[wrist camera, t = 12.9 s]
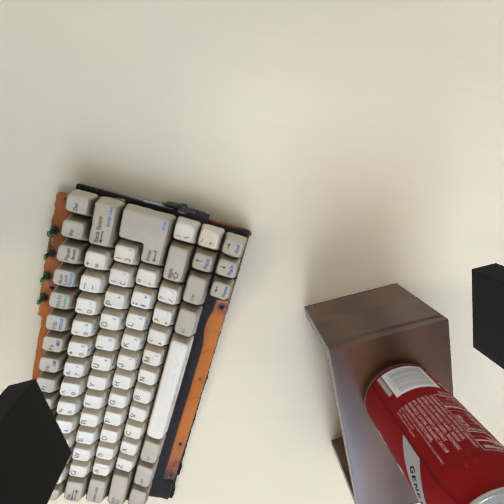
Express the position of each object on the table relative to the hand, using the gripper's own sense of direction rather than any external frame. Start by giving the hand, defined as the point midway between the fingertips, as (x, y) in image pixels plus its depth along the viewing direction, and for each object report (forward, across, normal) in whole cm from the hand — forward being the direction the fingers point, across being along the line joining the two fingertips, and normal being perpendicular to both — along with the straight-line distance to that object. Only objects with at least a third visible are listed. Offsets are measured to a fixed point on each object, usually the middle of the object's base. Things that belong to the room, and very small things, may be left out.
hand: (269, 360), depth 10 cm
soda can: (+16, +11, -18) cm, 26 cm away
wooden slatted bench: (+25, +11, -22) cm, 35 cm away
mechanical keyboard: (+26, -15, -13) cm, 32 cm away
